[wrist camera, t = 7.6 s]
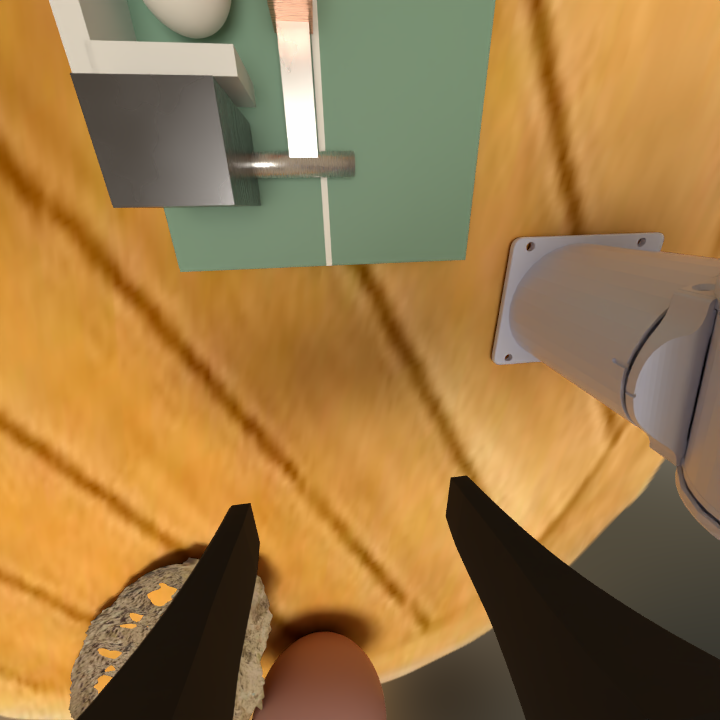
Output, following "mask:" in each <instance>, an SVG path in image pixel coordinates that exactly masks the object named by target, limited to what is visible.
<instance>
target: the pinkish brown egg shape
mask: <svg viewBox="0 0 720 720" xmlns="http://www.w3.org/2000/svg"><path fill="white" fill-rule="evenodd" d="M264 681H265V684H264V685H263V691H264V698H263V699H262V707H263V708H262V711H261V709H259V708H258V707H257V706H256V707H255V709H254V713H253V718H252V720H386V707H385V701H384V695H383V691H382V687H381V684H380V680H379V677H378V675H377V673H376V670H375V668H374V666H373V664H372V663H371V661H370V659H369V658H368V656H367V655H366V654H365V652H364V651H363V650H362V649H361V648H360V647H359V646H358V645H357V644H356V643H355V642H353V641H352V640H350V639H349V638H347V637H345V636H343V635H341V634H337V633H334V632H316V633H312V634H309V635H306V636H304V637H302V638H300V639H298V640H297V641H295V642H294V643H292V644H291V645H290V646H289V647H288V648H287V649H285V650H284V651H283V652H282V654H281V655H280V656H279V657H278V658H277V660H276V661H275V662H274V664H273V665H272V667H271V669H270V670H269V672H268V674H267V676H266V678H265V679H264Z"/></svg>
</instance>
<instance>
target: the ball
mask: <svg viewBox="0 0 720 720" xmlns="http://www.w3.org/2000/svg"><path fill="white" fill-rule="evenodd" d="M143 2H144V3H145V5H146V6H147V7H148V9H149V10H150V11H151V12H152V13H153V14H154V15H155V16H156V18H157V19H158V20H159V21H161V22H162V23H163V24H164V25H165V26H167V27H168V28H169V29H171V30H172V31H174V32H176V33H178V34H180V35H182V36H185V37H189V38H195V39H200V38H206V37H209V36H211V35H213V34H215V33H216V32H217V31H218V30H219V29H220V28H221V27H222V26H223V24H224V23H225V21H226V19H227V17H228V14H229V11H230V6H231V0H143Z"/></svg>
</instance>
